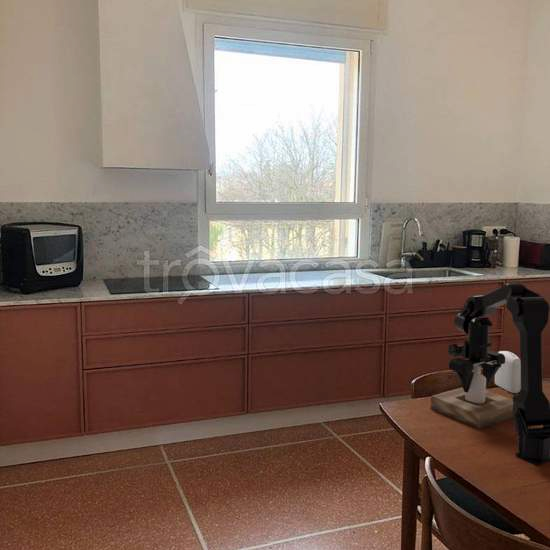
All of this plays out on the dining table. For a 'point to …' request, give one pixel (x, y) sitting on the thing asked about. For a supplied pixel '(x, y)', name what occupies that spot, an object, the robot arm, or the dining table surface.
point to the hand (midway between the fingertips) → (475, 389)
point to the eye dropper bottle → (477, 387)
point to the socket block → (473, 408)
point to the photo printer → (509, 373)
